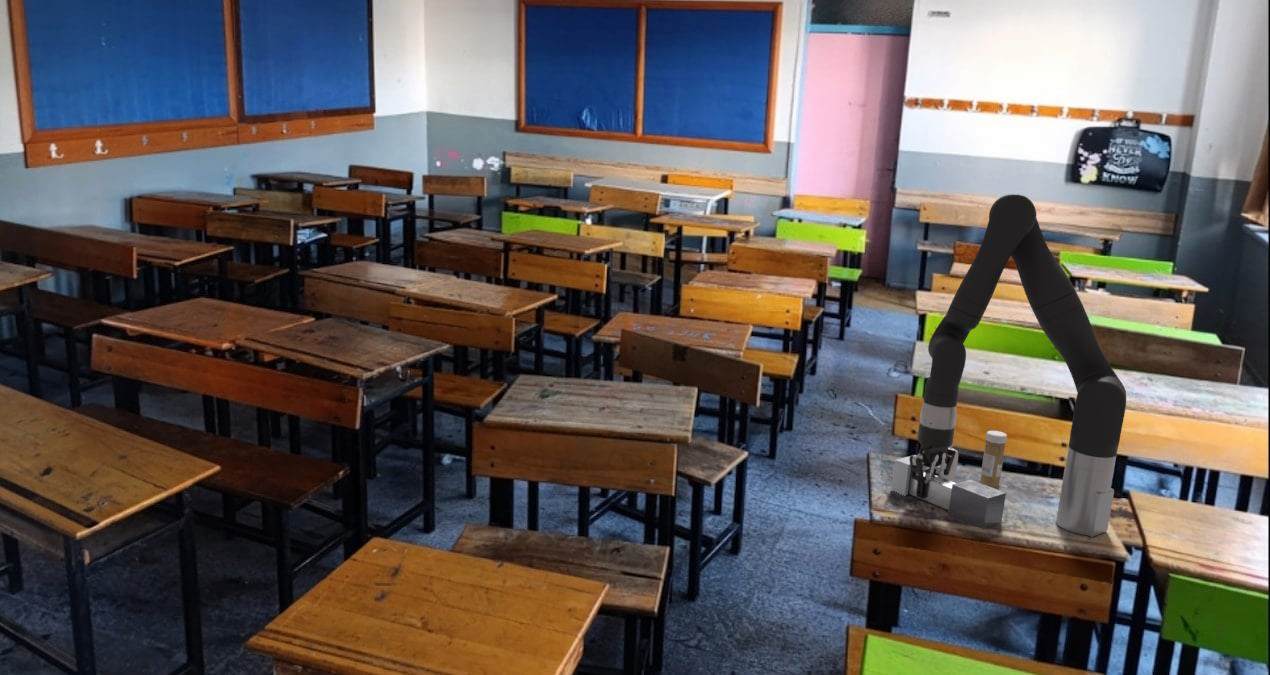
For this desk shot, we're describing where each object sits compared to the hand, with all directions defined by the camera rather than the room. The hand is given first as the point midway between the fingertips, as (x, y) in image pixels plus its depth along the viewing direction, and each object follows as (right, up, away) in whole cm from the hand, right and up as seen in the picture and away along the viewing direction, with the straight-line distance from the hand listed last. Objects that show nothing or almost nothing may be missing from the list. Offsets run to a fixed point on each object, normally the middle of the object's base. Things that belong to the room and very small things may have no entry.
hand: (927, 495), depth 215 cm
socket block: (-3, 0, +4) cm, 5 cm away
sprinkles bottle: (+17, 0, +10) cm, 20 cm away
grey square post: (+1, -1, -2) cm, 2 cm away
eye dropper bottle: (+7, +1, +12) cm, 14 cm away
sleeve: (+7, -3, -9) cm, 12 cm away
